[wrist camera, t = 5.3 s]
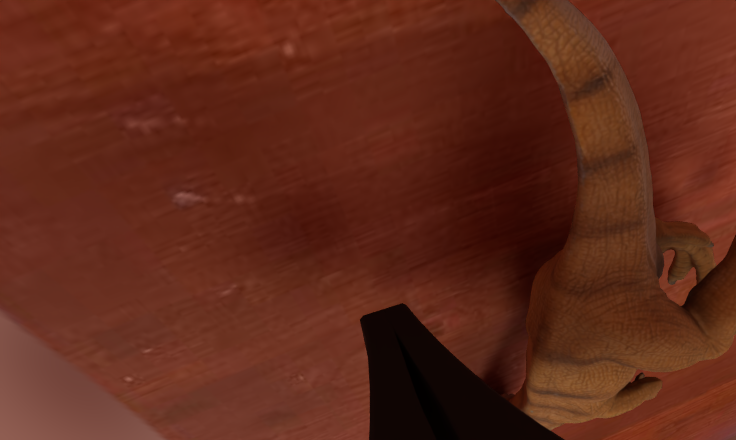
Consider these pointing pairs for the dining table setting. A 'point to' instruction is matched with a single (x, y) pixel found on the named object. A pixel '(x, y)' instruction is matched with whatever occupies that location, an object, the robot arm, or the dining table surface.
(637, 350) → the dinosaur figurine
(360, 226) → the dining table surface
